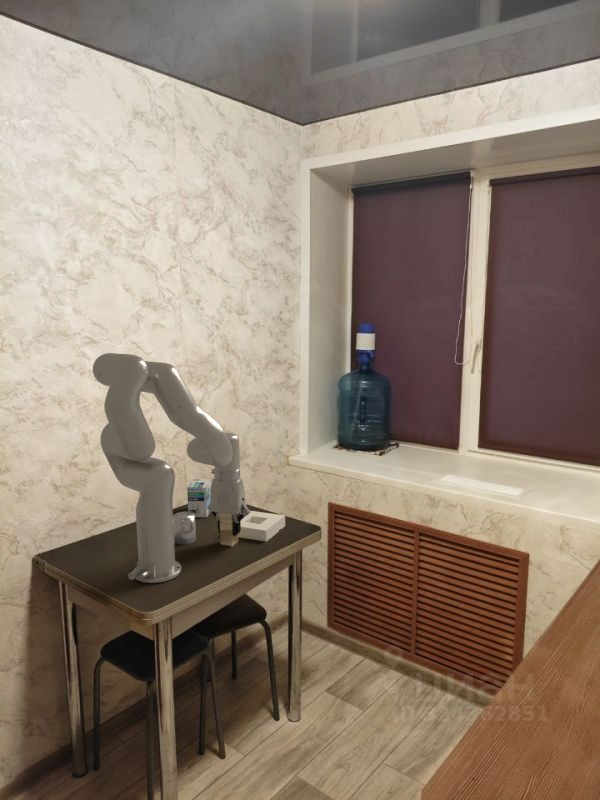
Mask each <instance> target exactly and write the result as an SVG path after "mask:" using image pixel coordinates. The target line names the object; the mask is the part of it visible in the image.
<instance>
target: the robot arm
mask: <svg viewBox="0 0 600 800" xmlns="http://www.w3.org/2000/svg"><path fill="white" fill-rule="evenodd" d="M92 374H93V376H94V378H95V380H96V381H97V382H98V383H100V384H101V385H103V386H107V387H108V390H107V393H106V396H105V400H104V404H103V405H104V406H103V407H104V408H103V409H104V413H105V417H106V419H107V421H108V423H107V424H105V426H104V427H103V429H102V431H101V433H100V446H101V450H102V452H103V455H104V456H105V458H106V460H107V462H108V464H109V467H110V468H111V470H112V472H113V474H114V476H115V477H116V479H117V481H118V482H119V483H120V485H122V486H124V487H125V488H127V489H130V490H133V491H135V492H138V493H139V497H138V500H137V503H136V507H135V521H136V522H135V523H136V535H137V536H136V537H137V553H138V556H137V557H138V561H137V562H136V567H135V568H134V569H133V570H132V571H130V572H129V573H128V575H127V578H128V579H129V580H131V581H134V580H137V581H139V582H141V583H146V584H147V583H148V584H156V583H157V584H158V583H163V582H167V581H168V582H169V581H170V580H172V579H174V578H177V577H178V576H179V575H180V574H181V573H182V565H181V563H180V562H179V561H177V560H176V554H175V553H176V551H175V547H176V546H175V542H174V525H173V515H174V511H173V510H174V509H173V508H174V507H173V503H174V502H173V499H174V490H175V484H176V483H175V482H176V474H175V471H174V468H173V467H172V465H170V464H169V463H168V462H166V461H165V460H163V459H159V458H155V457H152V456H153V454H154V453H155V451H156V440H155V437H154V435H153V433H152V431H151V430H152V429H151V428H150V426H149V424H148V421H147V420H146V417H145V414H144V412H143V409H142V407H141V401H140V399H141V394H142V392H143V393H149V394H152V395H153V396H154V397H155V398H156V400H157V401H158V403H159V404H160V407H162V410H163V411H164V413H165V414H166V416H167V418H168V419H169V421H170V422H171V423H172V424H173V425H175V426H176V427H178V428H179V429H181V430H183V431H185V432H186V433H188V434H190V435H191V436H193V437H194V438H192V439H191V440H190V441H189V443H188V444H187V445H186V454H187V457H189V459H190V460H192V461H194V462H195V463H199V464H203V465H209V466H212V467H214V469H211V474H213V476H214V477H213V478H211V492H210V504H209V506H208V507H207V508H208V510H209V511H210V513H212V516H213V517H214V518H215V520H216V521H217V529H218V531H217V532H218V534H220V514H219V513H225V514H233V518H234V523H233V535H234V536H236V535H237V534H239V533H240V531H241V520H242V519H243V518H244V517H245V516H247V515H248V514H250V511H251V510H250V508H249V507H248V506H247V504H246V503H247V502H246V493H245V486H244V482H243V479H242V478H241V463H240V462H241V461H240V460H241V459H240V457H241V456H240V453H241V451H240V438H239V435H238V434H236V433H234V432H225V431H224V429H223V428H222V426H221V425H220V424H219V423H218V422H217V421H216V420H215V418H213V417H212V416H210V415H209V414H208V413H207V412H206V411H205V410H204V409H203V408H202V407H201V406H200V405H199V404H198V403H197V402H196V400H195V398H194V396H193V394H192V393H191V391H190V389H189V388H188V386H187V384H186V382H185V381H184V379H183V377H182V375H181V373H180V372H179V370H178V369H177V367H175V366H174V365H172V364H170V363H167V362H162V361H161V362H159V361H149V360H145V359H144V358H142V357H140V356H138V355H135V354H128V353H117V352H116V353H115V352H114V353H113V352H108V353H107V352H106V353H102V354H101V355H99V356H98V357H97V358H95V360H94V362H93V364H92Z"/></svg>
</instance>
